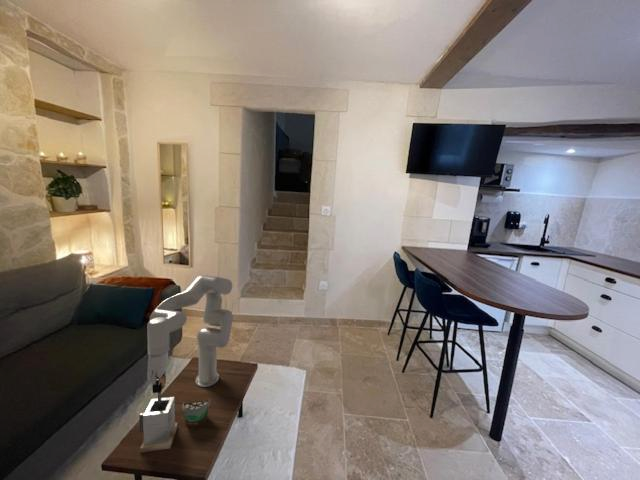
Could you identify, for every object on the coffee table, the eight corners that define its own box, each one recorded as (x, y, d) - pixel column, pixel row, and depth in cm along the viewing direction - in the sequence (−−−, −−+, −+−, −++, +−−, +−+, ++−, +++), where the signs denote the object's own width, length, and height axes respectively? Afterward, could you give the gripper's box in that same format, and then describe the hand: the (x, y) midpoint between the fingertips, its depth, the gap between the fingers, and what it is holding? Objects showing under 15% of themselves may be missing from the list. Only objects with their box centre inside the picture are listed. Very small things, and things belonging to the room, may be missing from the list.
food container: (179, 432, 117) (179, 412, 115) (182, 420, 123) (182, 401, 121) (208, 427, 120) (209, 408, 119) (210, 416, 126) (210, 398, 125)
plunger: (155, 416, 114) (154, 375, 111) (168, 415, 115) (168, 374, 112) (150, 426, 109) (149, 383, 106) (164, 424, 110) (164, 382, 107)
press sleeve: (145, 427, 115) (144, 399, 113) (174, 424, 118) (174, 396, 116) (135, 446, 107) (135, 416, 104) (168, 442, 109) (167, 413, 107)
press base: (150, 429, 117) (150, 425, 117) (177, 426, 120) (177, 422, 119) (140, 452, 106) (140, 448, 106) (170, 448, 109) (170, 444, 109)
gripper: (156, 337, 114) (156, 375, 116) (139, 360, 98) (140, 404, 100) (175, 336, 116) (175, 374, 118) (161, 359, 100) (162, 402, 102)
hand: (159, 387), depth 109 cm, fingers closed on plunger, 4 cm apart
